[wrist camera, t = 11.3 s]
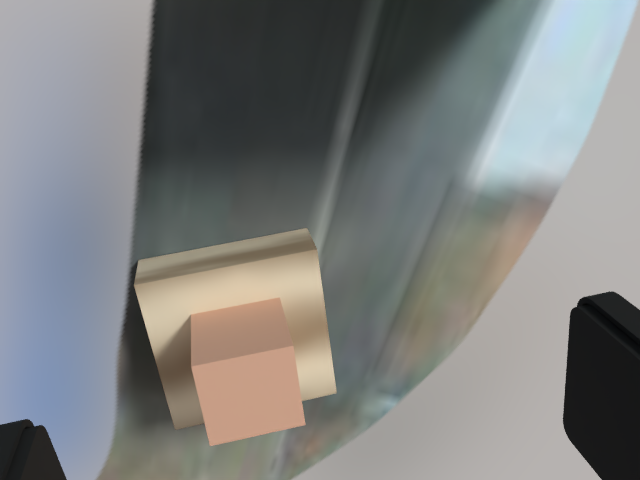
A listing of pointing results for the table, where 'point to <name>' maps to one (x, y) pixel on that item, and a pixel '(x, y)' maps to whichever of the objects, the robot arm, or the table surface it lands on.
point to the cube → (245, 371)
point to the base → (232, 290)
